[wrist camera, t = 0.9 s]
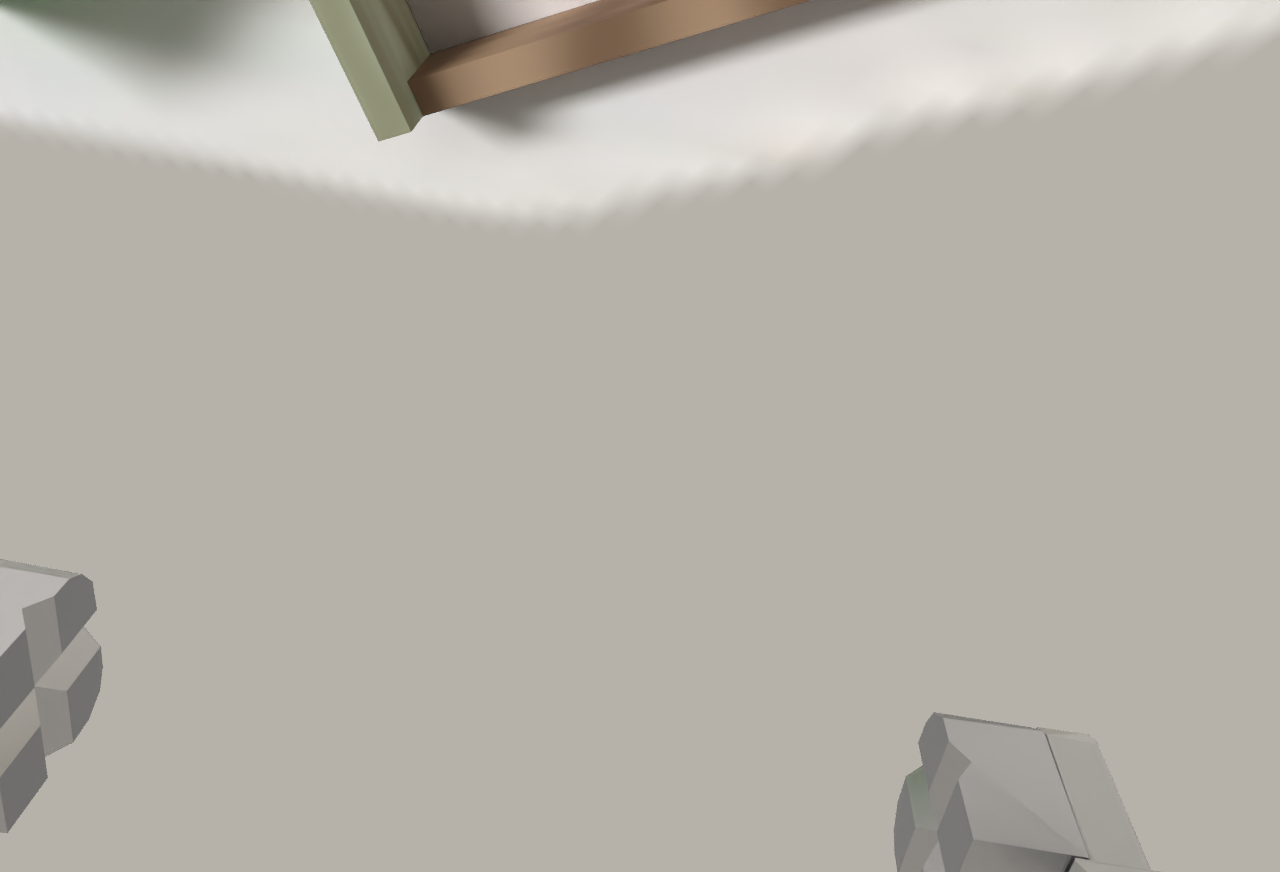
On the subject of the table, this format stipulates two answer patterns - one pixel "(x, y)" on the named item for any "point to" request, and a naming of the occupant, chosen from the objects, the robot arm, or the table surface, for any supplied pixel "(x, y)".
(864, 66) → the table surface
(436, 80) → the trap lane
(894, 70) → the table surface
